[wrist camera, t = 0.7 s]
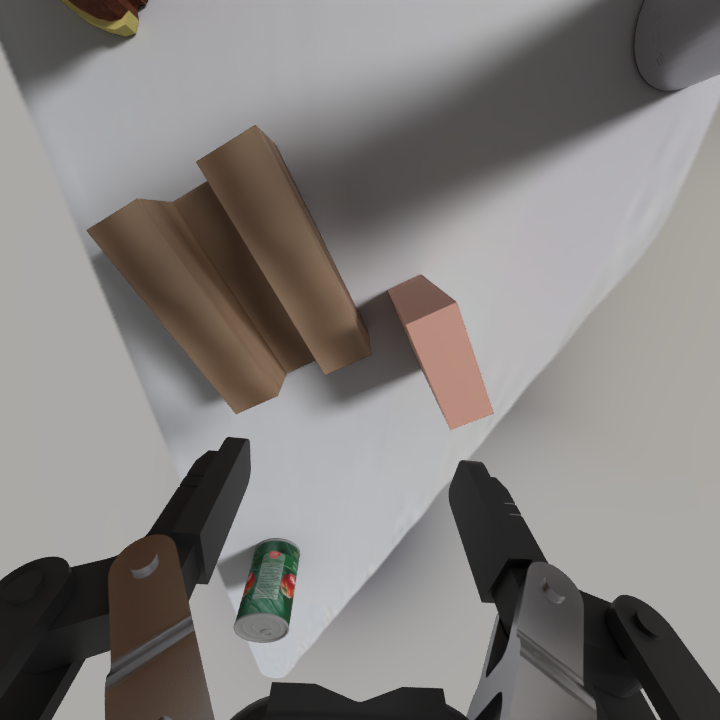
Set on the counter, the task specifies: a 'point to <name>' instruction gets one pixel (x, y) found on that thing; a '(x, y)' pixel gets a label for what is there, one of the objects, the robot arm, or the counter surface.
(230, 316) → the book stand
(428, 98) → the counter surface
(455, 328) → the pink rectangular block
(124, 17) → the decorative book
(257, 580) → the canned tomato
